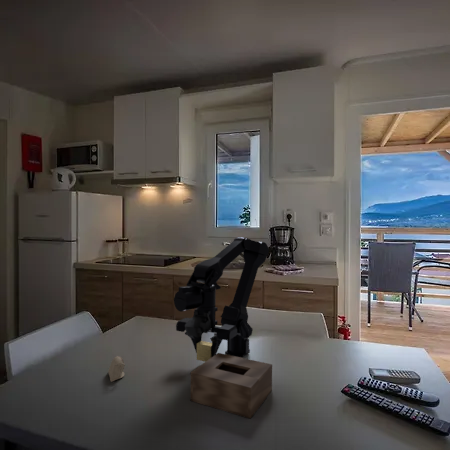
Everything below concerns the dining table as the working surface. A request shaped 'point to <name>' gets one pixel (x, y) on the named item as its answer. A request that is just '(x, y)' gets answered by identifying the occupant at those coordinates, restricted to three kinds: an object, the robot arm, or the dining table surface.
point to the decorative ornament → (116, 368)
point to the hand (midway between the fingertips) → (205, 356)
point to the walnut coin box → (232, 384)
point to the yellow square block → (204, 351)
